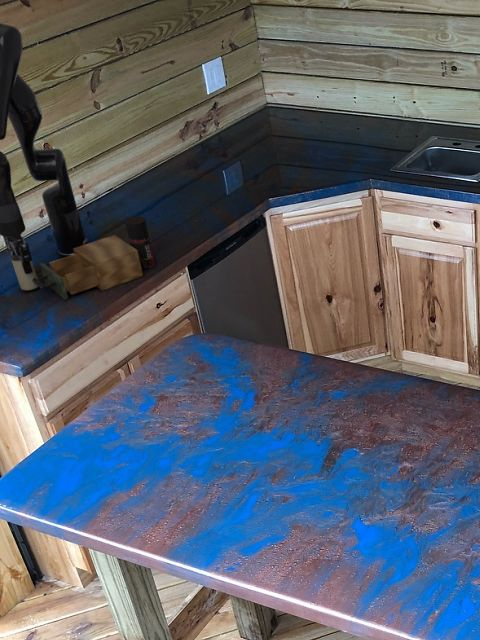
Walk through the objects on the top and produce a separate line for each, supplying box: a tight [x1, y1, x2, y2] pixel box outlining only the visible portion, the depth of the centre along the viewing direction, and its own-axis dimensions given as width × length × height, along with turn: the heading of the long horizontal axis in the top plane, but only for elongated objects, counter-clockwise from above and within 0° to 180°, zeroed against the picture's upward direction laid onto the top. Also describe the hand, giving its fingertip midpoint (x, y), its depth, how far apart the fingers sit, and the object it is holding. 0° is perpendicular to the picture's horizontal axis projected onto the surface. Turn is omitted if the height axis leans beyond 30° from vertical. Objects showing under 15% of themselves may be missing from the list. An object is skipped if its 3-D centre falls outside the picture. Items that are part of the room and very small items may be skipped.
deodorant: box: [124, 216, 156, 270], centre depth 284 cm, size 6×6×15 cm
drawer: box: [32, 253, 99, 300], centre depth 273 cm, size 17×14×7 cm
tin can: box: [10, 254, 39, 292], centre depth 274 cm, size 6×6×10 cm
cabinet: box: [73, 234, 144, 291], centre depth 281 cm, size 14×15×9 cm
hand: (24, 269), depth 274 cm, fingers closed on tin can, 5 cm apart
